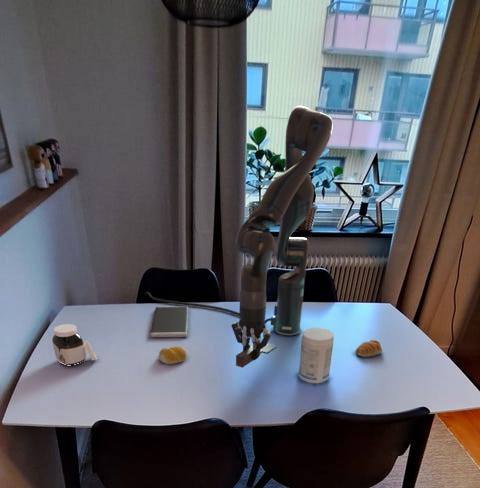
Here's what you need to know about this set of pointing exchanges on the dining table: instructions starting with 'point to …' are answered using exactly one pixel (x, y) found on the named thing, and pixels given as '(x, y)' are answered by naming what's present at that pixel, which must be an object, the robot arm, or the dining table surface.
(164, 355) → the bread roll
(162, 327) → the grey tablet slab
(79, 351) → the spread jar
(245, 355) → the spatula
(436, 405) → the dining table surface
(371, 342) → the pastry
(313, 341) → the supplement tub
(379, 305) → the dining table surface
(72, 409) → the dining table surface
